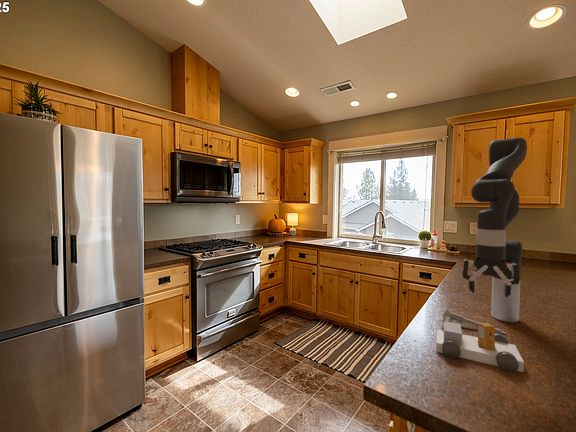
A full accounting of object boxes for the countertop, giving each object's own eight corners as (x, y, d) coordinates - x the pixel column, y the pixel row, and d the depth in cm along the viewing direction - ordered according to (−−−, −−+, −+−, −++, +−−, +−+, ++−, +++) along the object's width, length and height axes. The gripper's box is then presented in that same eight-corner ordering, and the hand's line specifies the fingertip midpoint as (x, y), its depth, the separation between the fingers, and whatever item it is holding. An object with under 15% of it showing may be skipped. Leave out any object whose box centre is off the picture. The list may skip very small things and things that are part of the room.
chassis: (436, 335, 100) (437, 316, 100) (512, 351, 89) (513, 330, 89) (436, 354, 87) (436, 333, 87) (525, 376, 76) (526, 351, 76)
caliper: (442, 323, 110) (443, 308, 110) (442, 322, 111) (443, 307, 111) (506, 335, 101) (506, 318, 100) (505, 334, 101) (506, 317, 101)
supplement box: (487, 352, 88) (488, 322, 88) (495, 358, 85) (496, 327, 85) (476, 352, 88) (477, 322, 88) (484, 358, 85) (485, 327, 85)
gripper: (516, 243, 85) (514, 294, 86) (462, 240, 92) (461, 287, 93) (522, 246, 78) (520, 302, 79) (464, 243, 85) (462, 294, 86)
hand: (488, 294), depth 86 cm, fingers open, 8 cm apart
